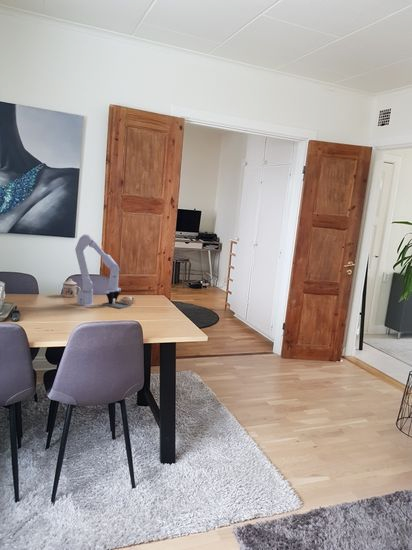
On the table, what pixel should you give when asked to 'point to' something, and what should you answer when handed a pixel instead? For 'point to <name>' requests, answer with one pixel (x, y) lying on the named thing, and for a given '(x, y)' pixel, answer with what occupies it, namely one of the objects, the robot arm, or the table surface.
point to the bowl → (123, 300)
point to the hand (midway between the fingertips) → (112, 303)
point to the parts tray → (117, 305)
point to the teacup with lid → (70, 288)
